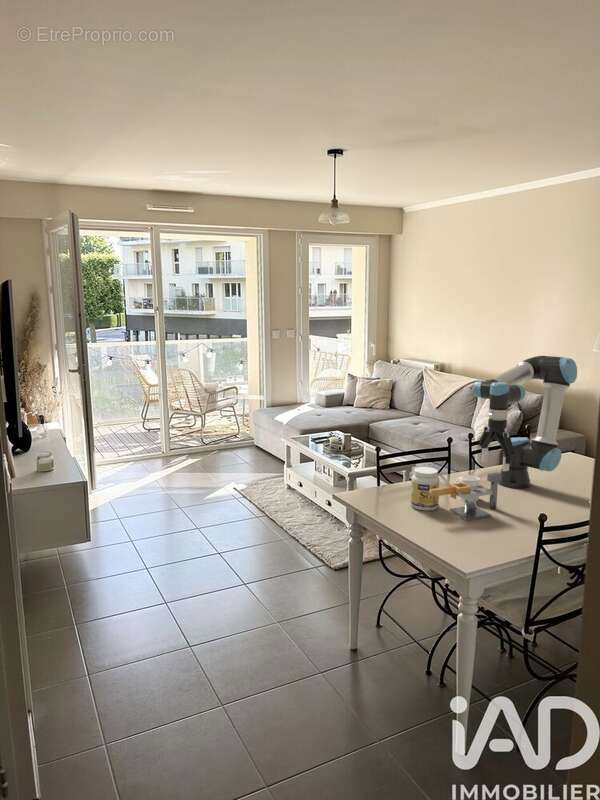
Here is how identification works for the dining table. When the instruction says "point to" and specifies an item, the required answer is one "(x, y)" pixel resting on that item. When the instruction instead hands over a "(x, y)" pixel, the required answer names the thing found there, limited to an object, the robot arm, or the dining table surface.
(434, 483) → the supplement tub
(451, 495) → the wooden handled frame
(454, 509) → the ball joint plate
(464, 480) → the cup
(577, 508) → the dining table surface
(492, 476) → the wedge pin
